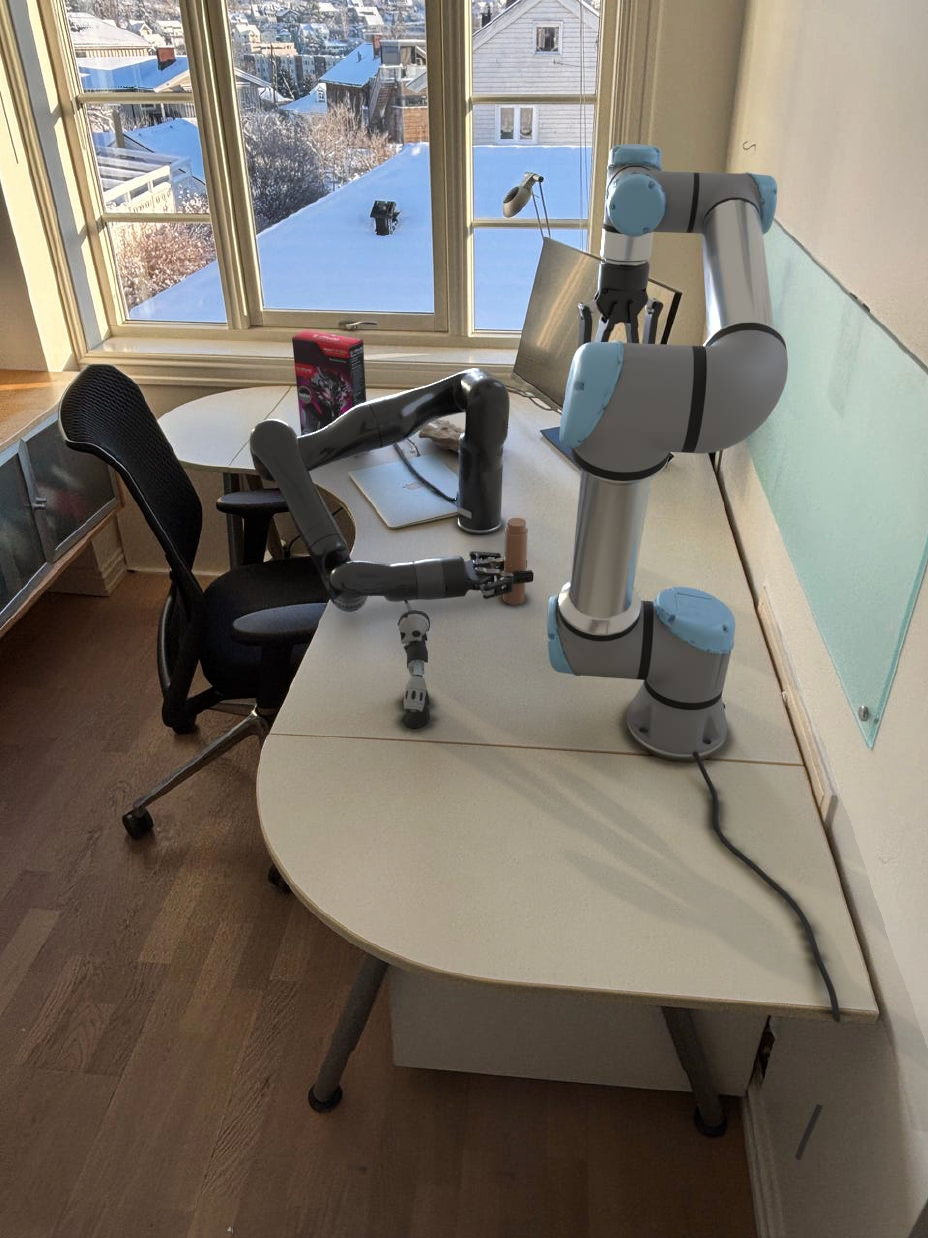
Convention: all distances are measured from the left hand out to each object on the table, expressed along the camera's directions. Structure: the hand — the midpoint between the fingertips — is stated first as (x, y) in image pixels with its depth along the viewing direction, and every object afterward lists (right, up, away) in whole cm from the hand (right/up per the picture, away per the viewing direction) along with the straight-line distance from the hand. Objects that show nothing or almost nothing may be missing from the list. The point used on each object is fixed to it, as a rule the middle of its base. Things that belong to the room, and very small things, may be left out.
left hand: (529, 569), depth 171 cm
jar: (-3, -5, +3) cm, 7 cm away
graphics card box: (-45, +35, +62) cm, 84 cm away
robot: (-20, -24, -25) cm, 40 cm away
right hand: (+12, +26, -20) cm, 34 cm away
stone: (-14, +33, +61) cm, 71 cm away
